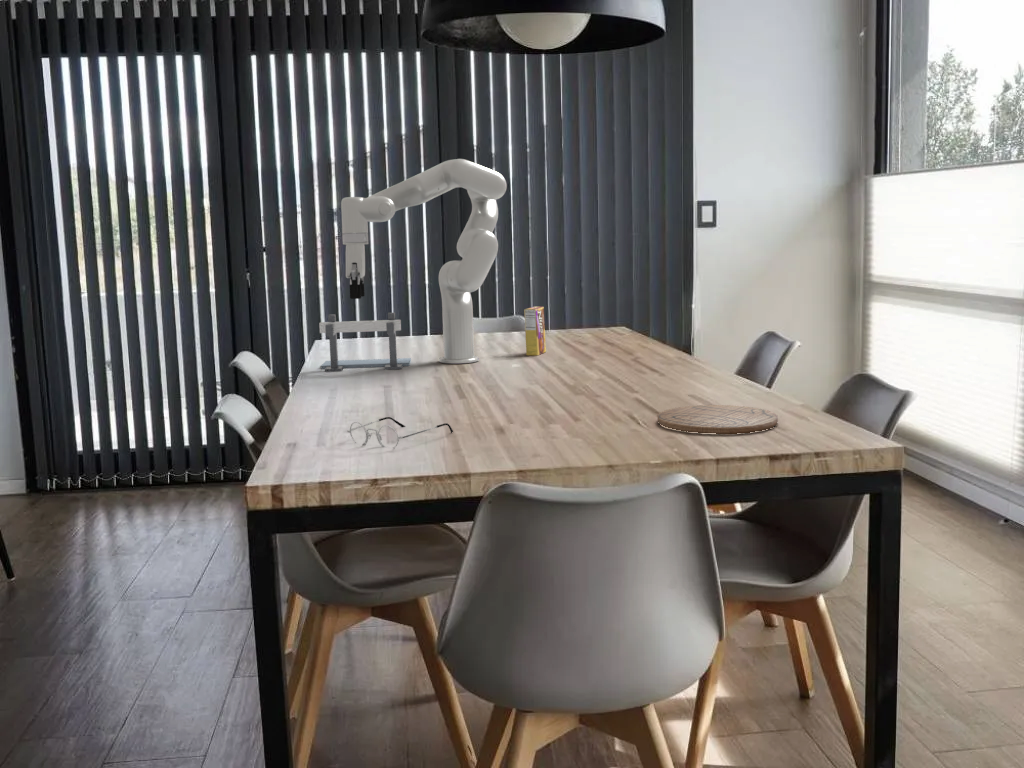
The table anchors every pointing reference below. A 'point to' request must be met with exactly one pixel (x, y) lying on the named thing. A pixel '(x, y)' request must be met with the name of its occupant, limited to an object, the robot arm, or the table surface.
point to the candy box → (535, 331)
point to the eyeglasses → (388, 426)
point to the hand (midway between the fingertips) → (357, 297)
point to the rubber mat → (367, 363)
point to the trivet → (718, 419)
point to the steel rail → (360, 326)
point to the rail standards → (334, 350)
